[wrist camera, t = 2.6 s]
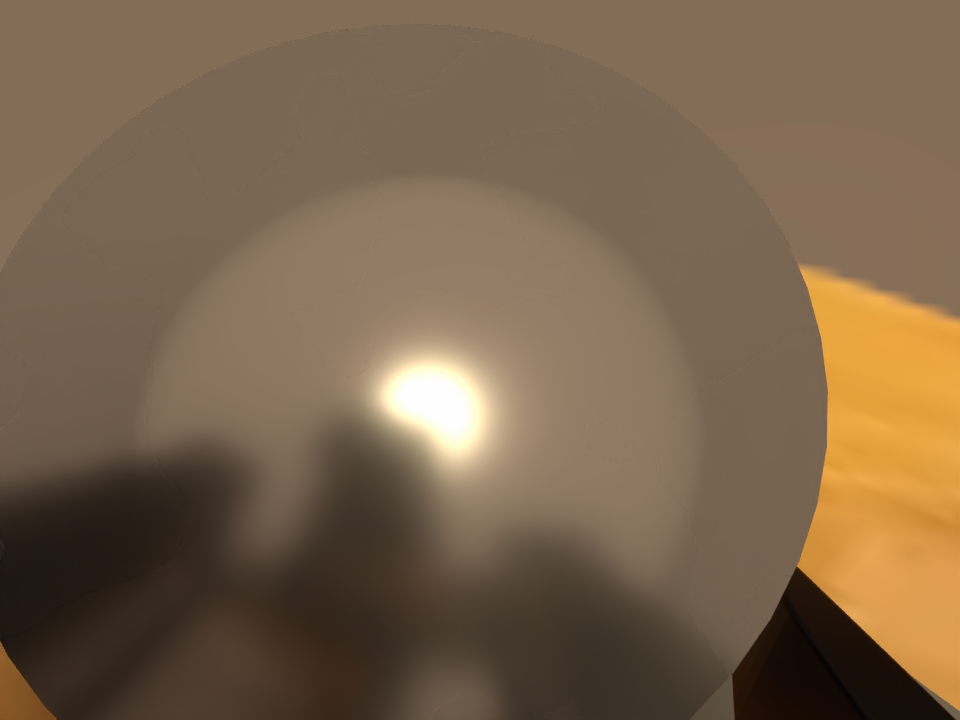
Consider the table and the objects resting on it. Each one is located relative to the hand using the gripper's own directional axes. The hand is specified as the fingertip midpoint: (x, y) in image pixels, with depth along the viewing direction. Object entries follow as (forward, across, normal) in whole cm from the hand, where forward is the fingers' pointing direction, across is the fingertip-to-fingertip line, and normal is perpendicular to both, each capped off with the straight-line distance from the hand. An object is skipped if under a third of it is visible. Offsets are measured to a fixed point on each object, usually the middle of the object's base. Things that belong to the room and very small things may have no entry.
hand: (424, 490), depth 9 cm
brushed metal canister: (+6, 0, +6) cm, 8 cm away
